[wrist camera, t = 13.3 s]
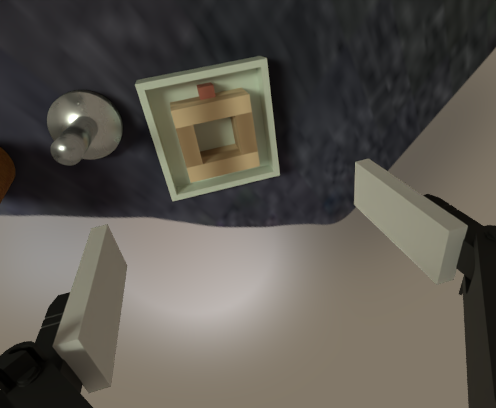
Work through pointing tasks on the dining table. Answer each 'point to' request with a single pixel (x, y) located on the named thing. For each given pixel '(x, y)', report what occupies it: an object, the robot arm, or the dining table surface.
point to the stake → (83, 127)
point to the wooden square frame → (208, 110)
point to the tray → (210, 122)
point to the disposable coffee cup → (5, 173)
